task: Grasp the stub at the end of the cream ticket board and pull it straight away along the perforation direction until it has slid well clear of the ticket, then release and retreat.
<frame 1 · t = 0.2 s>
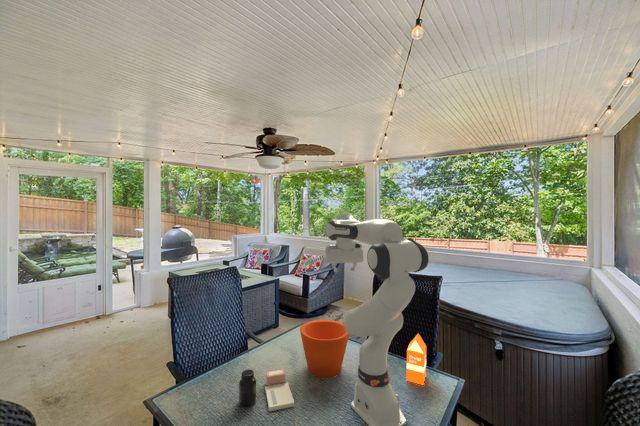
hand: (344, 271, 142), 48 cm above the table, fingers open, 8 cm apart
stub: (275, 378, 124), point 3 cm above the table, slide at 0.0 cm
orange juice: (416, 379, 130), on the table
supplement bottle: (247, 402, 112), on the table
ticket: (279, 397, 115), on the table
flowerpot: (324, 369, 137), on the table
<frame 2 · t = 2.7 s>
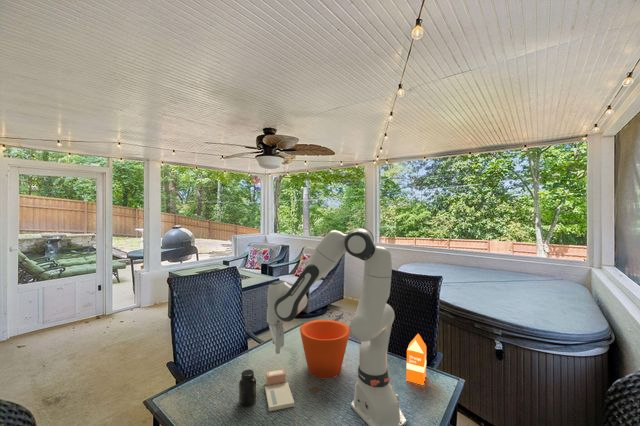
hand: (276, 347, 124), 16 cm above the table, fingers open, 8 cm apart
nothing on the table moved.
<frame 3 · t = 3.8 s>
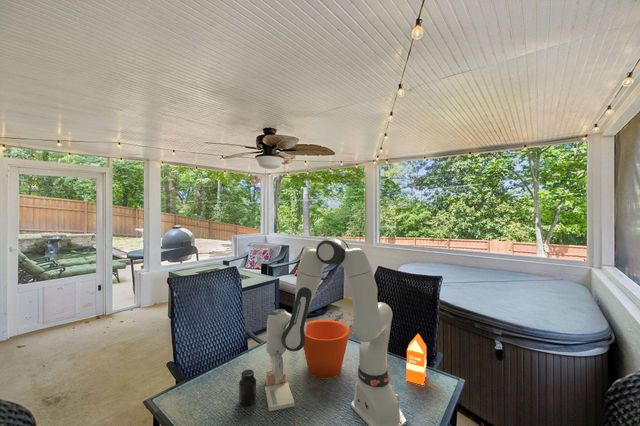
hand: (275, 376, 124), 3 cm above the table, fingers open, 8 cm apart
nothing on the table moved.
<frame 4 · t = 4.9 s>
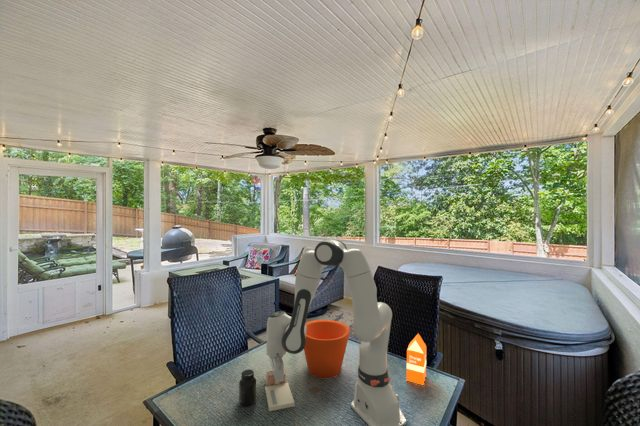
hand: (275, 379, 124), 2 cm above the table, fingers closed on stub, 4 cm apart
stub: (275, 378, 124), point 3 cm above the table, slide at 0.0 cm, touching gripper
everything else where it was.
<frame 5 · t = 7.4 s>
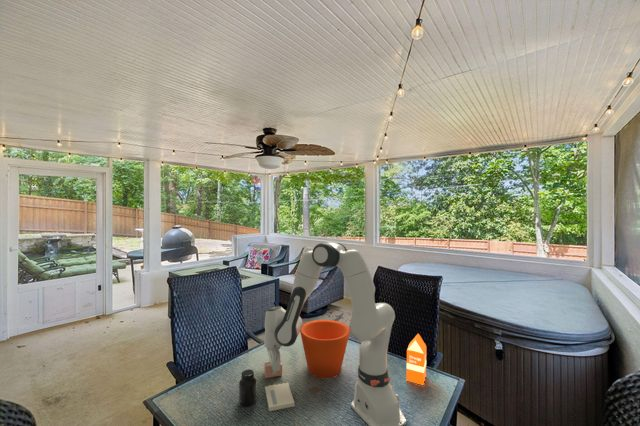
hand: (273, 370, 132), 2 cm above the table, fingers closed on stub, 4 cm apart
stub: (273, 368, 132), point 3 cm above the table, slide at 7.9 cm, touching gripper
everything else where it was.
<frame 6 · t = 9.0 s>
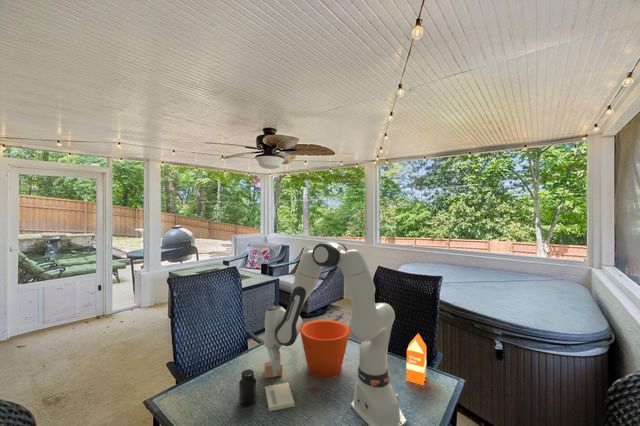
hand: (273, 369, 132), 2 cm above the table, fingers open, 8 cm apart
stub: (273, 369, 132), point 3 cm above the table, slide at 7.9 cm
everything else where it was.
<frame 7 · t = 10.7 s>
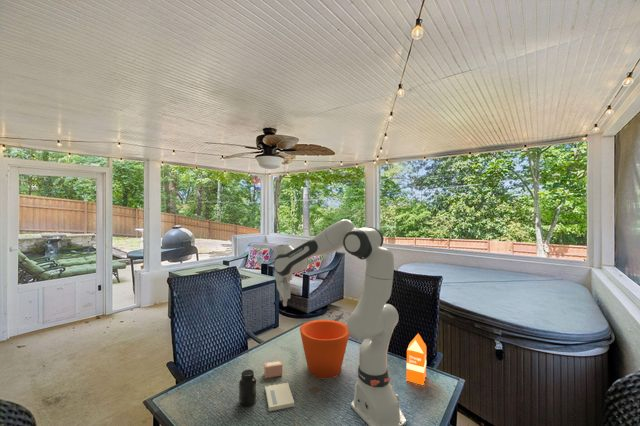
hand: (283, 302, 142), 31 cm above the table, fingers open, 8 cm apart
nothing on the table moved.
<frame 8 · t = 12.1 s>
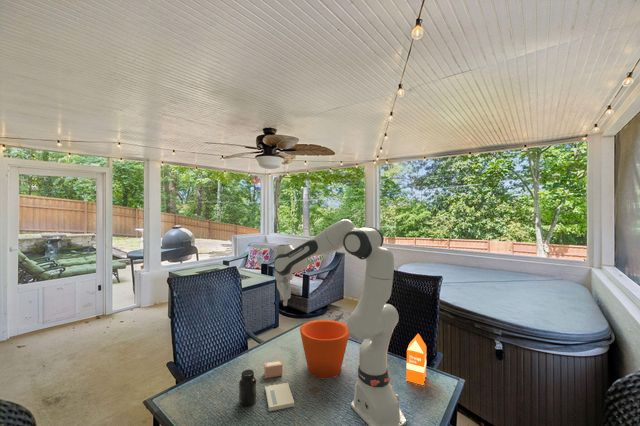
hand: (283, 302, 142), 31 cm above the table, fingers open, 8 cm apart
nothing on the table moved.
at the end: stub slide at 7.9 cm; the gripper is holding nothing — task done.
